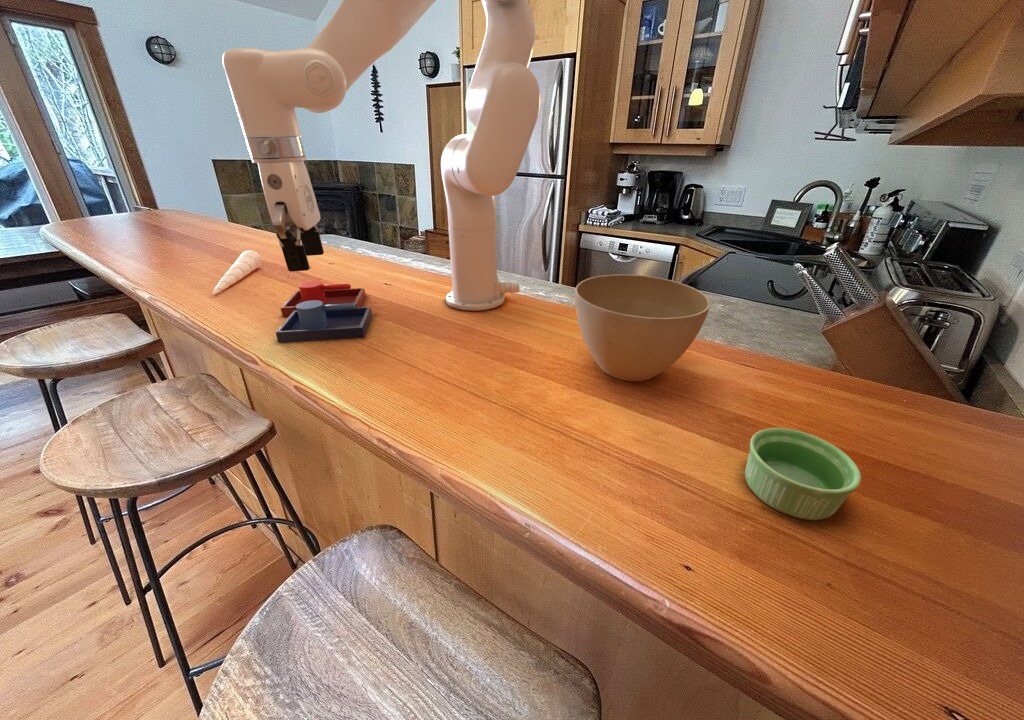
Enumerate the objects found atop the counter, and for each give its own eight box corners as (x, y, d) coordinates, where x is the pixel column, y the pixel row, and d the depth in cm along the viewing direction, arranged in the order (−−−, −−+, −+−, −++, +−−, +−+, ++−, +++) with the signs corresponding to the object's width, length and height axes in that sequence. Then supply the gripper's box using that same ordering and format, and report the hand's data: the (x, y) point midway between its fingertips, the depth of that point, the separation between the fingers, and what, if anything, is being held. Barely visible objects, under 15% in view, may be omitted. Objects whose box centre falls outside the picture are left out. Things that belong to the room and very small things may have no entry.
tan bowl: (601, 410, 53) (613, 324, 48) (552, 349, 69) (556, 278, 63) (718, 390, 58) (742, 309, 52) (648, 337, 73) (660, 270, 67)
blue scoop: (361, 320, 78) (357, 298, 76) (357, 329, 75) (352, 306, 72) (305, 323, 77) (300, 300, 75) (299, 332, 73) (292, 309, 71)
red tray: (365, 296, 91) (364, 287, 90) (357, 313, 83) (356, 304, 82) (298, 299, 89) (296, 290, 89) (282, 317, 81) (280, 307, 80)
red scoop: (355, 299, 88) (352, 279, 86) (352, 306, 85) (348, 285, 83) (307, 301, 87) (302, 281, 85) (301, 309, 83) (295, 288, 81)
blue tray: (372, 315, 81) (370, 306, 80) (363, 337, 72) (362, 327, 72) (296, 319, 79) (293, 310, 78) (278, 342, 71) (275, 332, 70)
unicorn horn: (195, 297, 90) (187, 275, 88) (246, 267, 111) (241, 249, 109) (218, 296, 91) (210, 275, 88) (264, 267, 111) (259, 249, 109)
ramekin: (819, 543, 36) (838, 508, 34) (721, 482, 42) (732, 449, 40) (857, 497, 41) (876, 463, 38) (764, 448, 47) (776, 417, 45)
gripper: (285, 152, 55) (318, 275, 64) (317, 148, 70) (340, 248, 79) (225, 154, 54) (266, 279, 63) (270, 149, 69) (299, 251, 78)
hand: (307, 262), depth 71 cm, fingers open, 9 cm apart
